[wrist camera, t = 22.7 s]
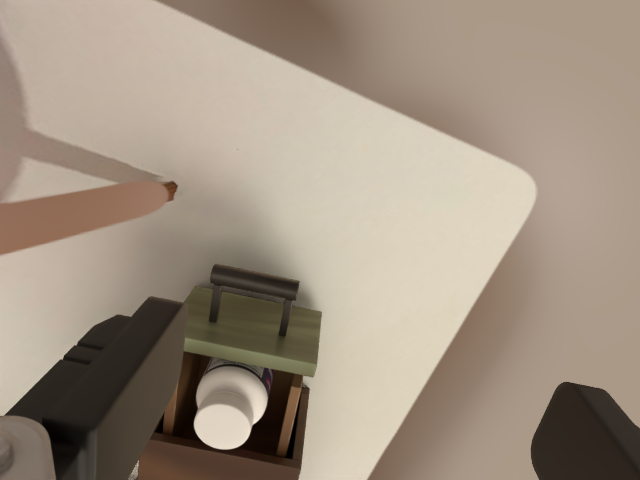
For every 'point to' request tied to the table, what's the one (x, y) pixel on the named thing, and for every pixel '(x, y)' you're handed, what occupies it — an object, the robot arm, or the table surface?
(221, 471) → the cabinet
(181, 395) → the drawer
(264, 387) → the pill bottle
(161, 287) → the table surface
